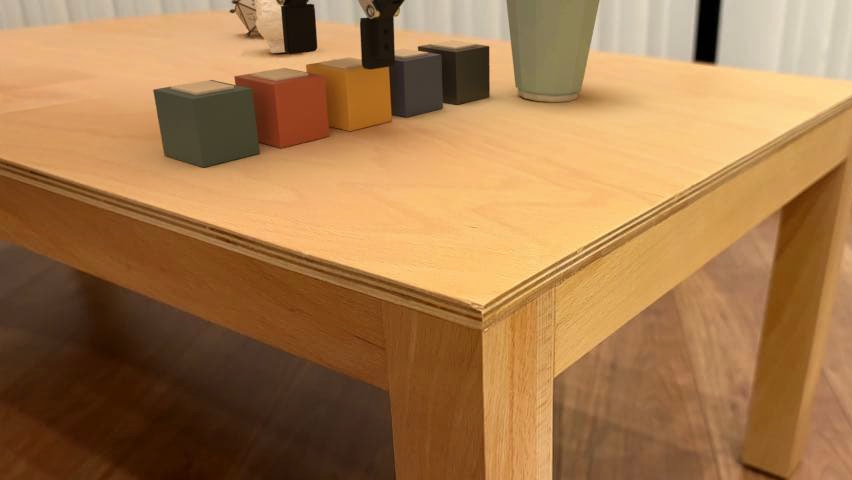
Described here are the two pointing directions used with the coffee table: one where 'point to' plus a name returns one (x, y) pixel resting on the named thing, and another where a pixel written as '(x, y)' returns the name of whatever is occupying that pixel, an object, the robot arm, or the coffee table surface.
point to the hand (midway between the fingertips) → (338, 59)
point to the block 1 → (207, 122)
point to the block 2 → (287, 106)
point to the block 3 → (415, 82)
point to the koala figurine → (270, 24)
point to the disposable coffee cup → (550, 46)
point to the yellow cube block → (354, 93)
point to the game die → (246, 14)
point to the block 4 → (462, 70)
